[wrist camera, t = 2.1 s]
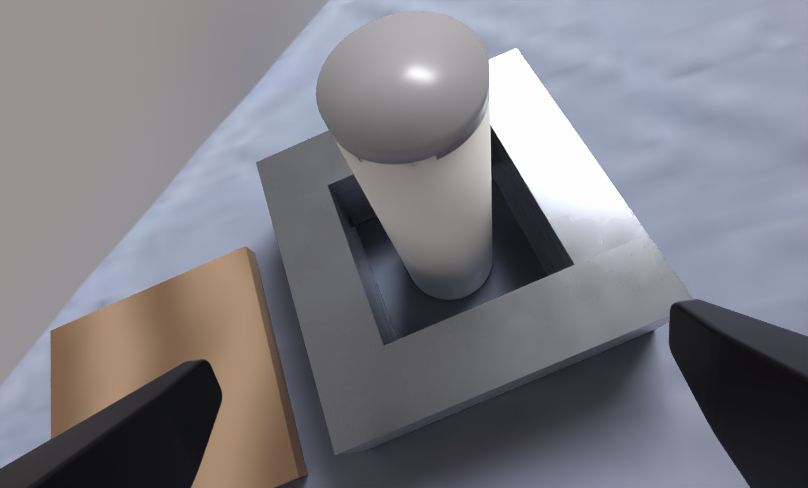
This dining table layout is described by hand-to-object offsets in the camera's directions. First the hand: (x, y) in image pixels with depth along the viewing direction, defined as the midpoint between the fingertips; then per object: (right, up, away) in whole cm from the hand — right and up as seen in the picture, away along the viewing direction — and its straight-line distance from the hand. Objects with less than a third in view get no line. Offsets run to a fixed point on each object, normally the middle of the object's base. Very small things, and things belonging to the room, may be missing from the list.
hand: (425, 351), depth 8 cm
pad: (-12, -6, +14) cm, 20 cm away
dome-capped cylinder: (+2, +1, +14) cm, 14 cm away
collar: (+2, +1, +14) cm, 14 cm away
